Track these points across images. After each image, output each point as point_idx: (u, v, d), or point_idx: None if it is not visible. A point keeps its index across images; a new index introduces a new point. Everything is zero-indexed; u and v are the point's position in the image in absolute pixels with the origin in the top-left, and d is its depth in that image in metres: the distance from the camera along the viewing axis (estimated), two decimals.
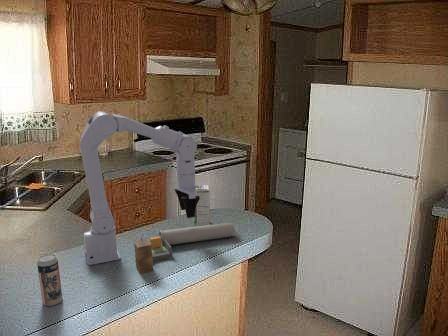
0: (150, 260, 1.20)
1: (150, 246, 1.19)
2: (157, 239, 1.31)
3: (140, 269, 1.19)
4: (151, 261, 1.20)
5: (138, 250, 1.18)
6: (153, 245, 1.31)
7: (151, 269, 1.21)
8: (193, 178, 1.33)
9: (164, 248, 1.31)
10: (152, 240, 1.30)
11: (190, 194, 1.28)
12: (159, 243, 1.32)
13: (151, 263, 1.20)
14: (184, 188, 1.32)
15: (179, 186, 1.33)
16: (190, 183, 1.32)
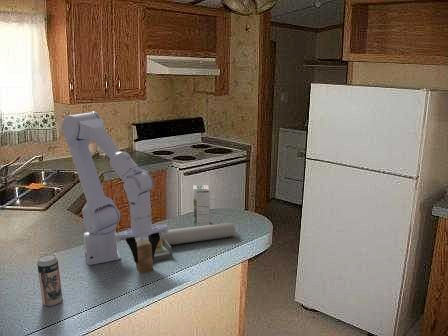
0: (150, 260, 1.20)
1: (150, 246, 1.19)
2: None
3: (140, 269, 1.19)
4: (151, 261, 1.20)
5: (138, 249, 1.18)
6: None
7: (151, 269, 1.21)
8: (135, 223, 1.16)
9: (164, 248, 1.31)
10: None
11: (115, 235, 1.17)
12: (159, 243, 1.32)
13: (151, 263, 1.20)
14: None
15: None
16: (131, 226, 1.17)
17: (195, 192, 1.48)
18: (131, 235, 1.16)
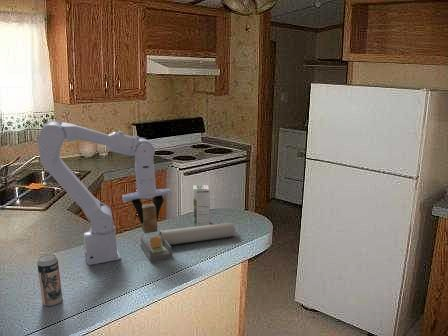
0: (155, 221, 1.30)
1: (154, 208, 1.29)
2: (157, 239, 1.31)
3: (146, 229, 1.29)
4: (155, 222, 1.30)
5: (144, 211, 1.28)
6: (153, 245, 1.31)
7: (156, 230, 1.31)
8: (140, 185, 1.26)
9: (164, 248, 1.31)
10: (152, 240, 1.30)
11: (122, 197, 1.27)
12: (159, 243, 1.32)
13: (155, 224, 1.30)
14: (137, 192, 1.30)
15: None
16: (137, 188, 1.27)
17: (195, 192, 1.48)
18: (137, 196, 1.26)
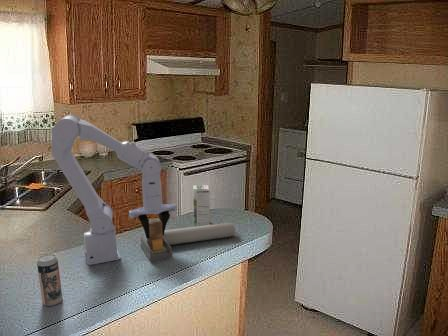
0: (160, 236, 1.31)
1: (161, 223, 1.30)
2: (159, 241, 1.29)
3: (151, 244, 1.30)
4: (161, 237, 1.31)
5: (150, 226, 1.29)
6: (155, 247, 1.29)
7: None
8: (147, 201, 1.26)
9: (164, 248, 1.31)
10: (154, 242, 1.29)
11: (129, 212, 1.28)
12: (161, 245, 1.30)
13: None
14: (143, 207, 1.30)
15: None
16: (144, 204, 1.28)
17: (195, 192, 1.48)
18: (143, 212, 1.27)
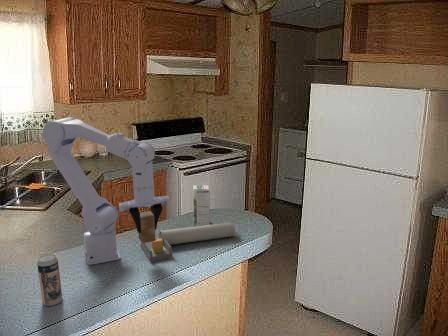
0: (153, 230, 1.23)
1: (153, 216, 1.22)
2: (159, 241, 1.29)
3: (143, 239, 1.23)
4: (154, 231, 1.24)
5: (141, 220, 1.21)
6: (155, 247, 1.29)
7: (154, 239, 1.24)
8: (138, 193, 1.19)
9: (164, 248, 1.31)
10: (154, 242, 1.29)
11: (119, 205, 1.20)
12: (161, 245, 1.30)
13: (154, 233, 1.24)
14: (134, 200, 1.22)
15: None
16: (135, 196, 1.20)
17: (195, 192, 1.48)
18: (134, 205, 1.19)
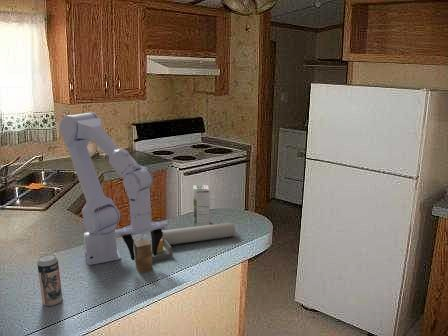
0: (150, 259, 1.20)
1: (149, 245, 1.19)
2: None
3: (140, 268, 1.20)
4: (151, 260, 1.20)
5: (138, 249, 1.18)
6: None
7: (151, 268, 1.21)
8: (134, 220, 1.16)
9: (164, 248, 1.31)
10: None
11: (115, 231, 1.17)
12: (161, 245, 1.30)
13: (151, 262, 1.21)
14: (131, 226, 1.19)
15: None
16: (131, 223, 1.17)
17: (195, 192, 1.48)
18: (131, 232, 1.16)
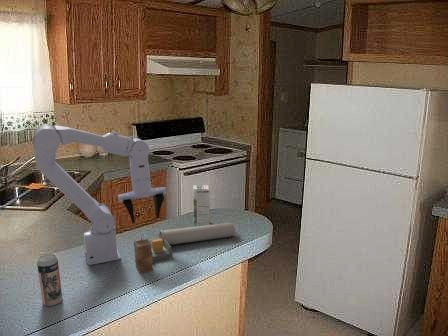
0: (150, 260, 1.20)
1: (150, 246, 1.19)
2: (159, 241, 1.29)
3: (140, 268, 1.20)
4: (151, 261, 1.20)
5: (138, 249, 1.18)
6: (155, 247, 1.29)
7: (151, 269, 1.21)
8: (135, 185, 1.27)
9: (164, 248, 1.31)
10: (154, 242, 1.29)
11: (118, 196, 1.28)
12: (161, 245, 1.30)
13: (151, 263, 1.21)
14: (133, 191, 1.31)
15: None
16: (133, 188, 1.28)
17: (195, 192, 1.48)
18: (132, 196, 1.27)
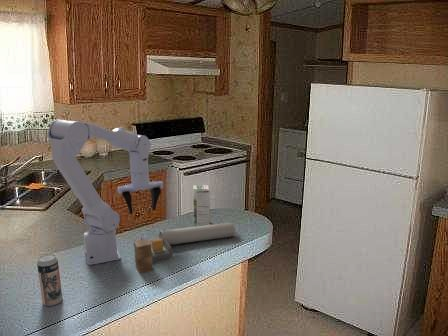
0: (150, 260, 1.20)
1: (150, 246, 1.19)
2: (159, 241, 1.29)
3: (140, 268, 1.20)
4: (151, 261, 1.20)
5: (138, 249, 1.18)
6: (155, 247, 1.29)
7: (151, 269, 1.21)
8: (134, 178, 1.35)
9: (164, 248, 1.31)
10: (154, 242, 1.29)
11: None
12: (161, 245, 1.30)
13: (151, 263, 1.21)
14: (131, 184, 1.38)
15: None
16: (132, 181, 1.36)
17: (195, 192, 1.48)
18: (131, 188, 1.35)
